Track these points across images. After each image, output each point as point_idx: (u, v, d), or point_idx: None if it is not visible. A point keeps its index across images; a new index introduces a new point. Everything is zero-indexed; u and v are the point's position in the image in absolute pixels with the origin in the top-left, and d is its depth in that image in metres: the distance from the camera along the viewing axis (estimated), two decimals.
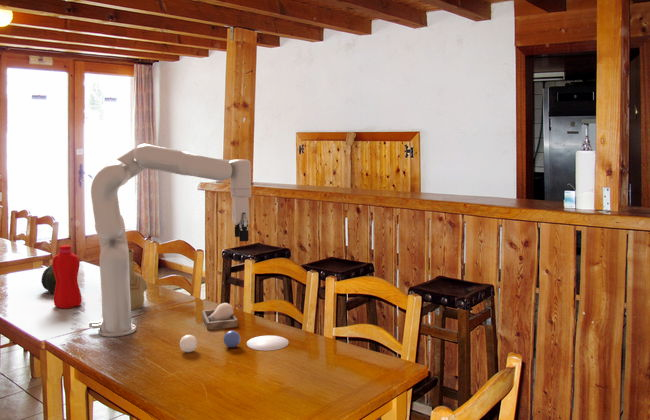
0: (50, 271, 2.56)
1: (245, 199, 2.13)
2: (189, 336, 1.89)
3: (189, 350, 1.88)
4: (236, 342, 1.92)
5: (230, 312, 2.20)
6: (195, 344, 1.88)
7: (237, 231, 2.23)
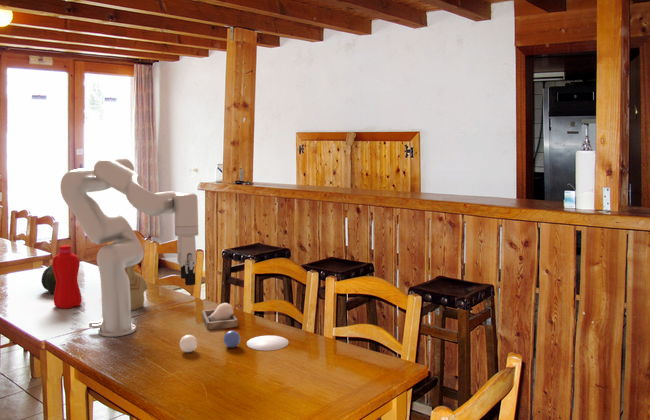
0: (50, 271, 2.56)
1: (191, 238, 1.90)
2: (189, 336, 1.89)
3: (189, 350, 1.88)
4: (236, 342, 1.92)
5: (230, 312, 2.20)
6: (195, 344, 1.88)
7: (183, 272, 2.00)
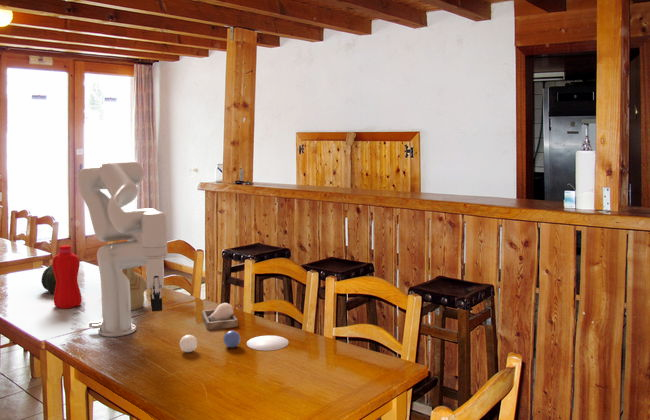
0: (50, 271, 2.56)
1: (158, 259, 1.79)
2: (189, 336, 1.89)
3: (189, 350, 1.88)
4: (236, 342, 1.92)
5: (230, 312, 2.20)
6: (195, 344, 1.88)
7: None
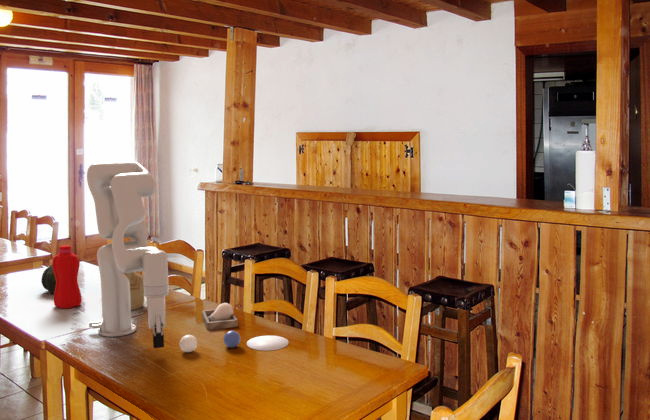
0: (50, 271, 2.56)
1: (160, 298, 1.80)
2: (189, 336, 1.89)
3: (189, 350, 1.88)
4: (236, 342, 1.92)
5: (230, 312, 2.20)
6: (195, 344, 1.88)
7: None
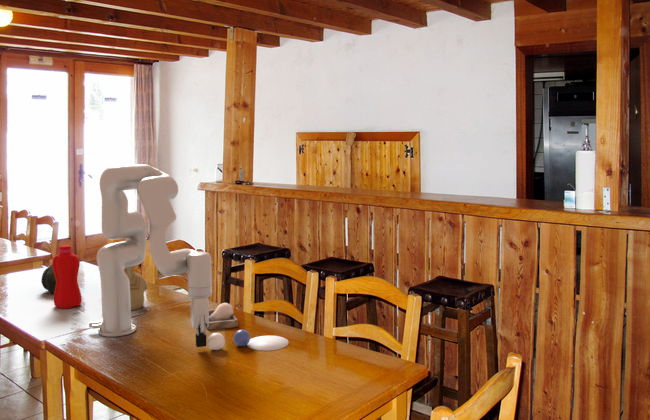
0: (50, 271, 2.56)
1: (204, 299, 1.85)
2: None
3: (214, 340, 1.89)
4: (243, 344, 1.93)
5: (230, 312, 2.20)
6: (210, 346, 1.90)
7: None
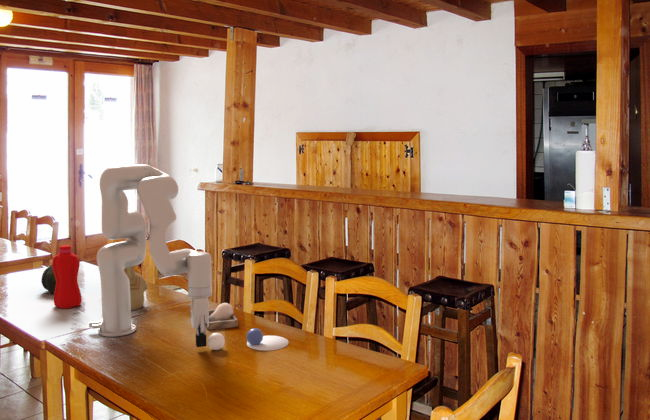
0: (50, 271, 2.56)
1: (204, 299, 1.85)
2: None
3: (214, 340, 1.89)
4: (252, 339, 1.94)
5: (230, 312, 2.20)
6: (210, 346, 1.90)
7: None
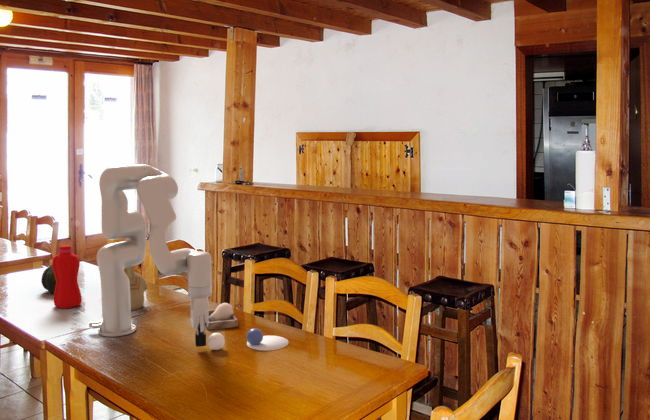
0: (50, 271, 2.56)
1: (204, 299, 1.85)
2: None
3: (214, 340, 1.89)
4: (252, 339, 1.94)
5: (230, 312, 2.20)
6: (210, 346, 1.90)
7: None
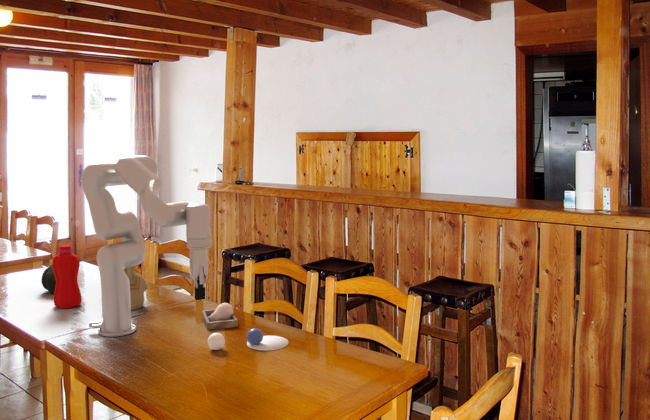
0: (50, 271, 2.56)
1: (203, 250, 1.83)
2: None
3: (214, 340, 1.89)
4: (252, 339, 1.94)
5: (230, 312, 2.20)
6: (210, 346, 1.90)
7: None
